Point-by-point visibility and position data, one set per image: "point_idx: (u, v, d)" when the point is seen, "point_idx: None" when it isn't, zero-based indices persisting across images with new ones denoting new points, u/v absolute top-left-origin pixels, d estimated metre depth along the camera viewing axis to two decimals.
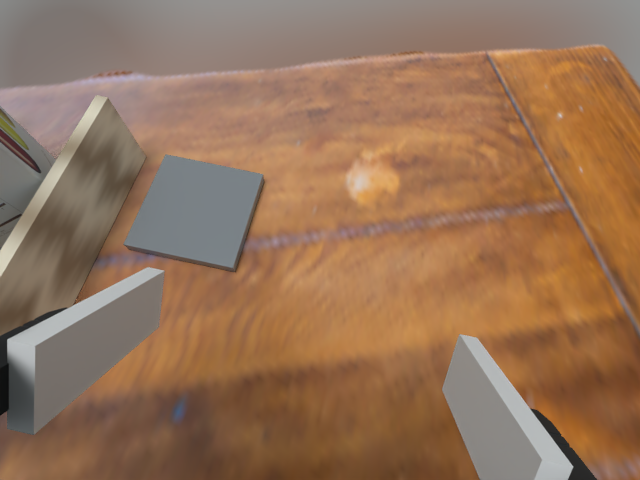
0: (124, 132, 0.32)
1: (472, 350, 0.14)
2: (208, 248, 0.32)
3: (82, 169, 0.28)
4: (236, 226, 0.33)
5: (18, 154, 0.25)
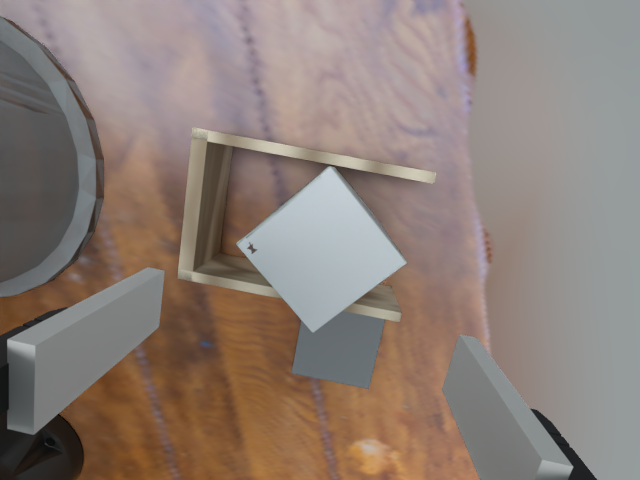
0: None
1: (472, 350, 0.14)
2: (304, 356, 0.45)
3: None
4: (322, 373, 0.45)
5: None
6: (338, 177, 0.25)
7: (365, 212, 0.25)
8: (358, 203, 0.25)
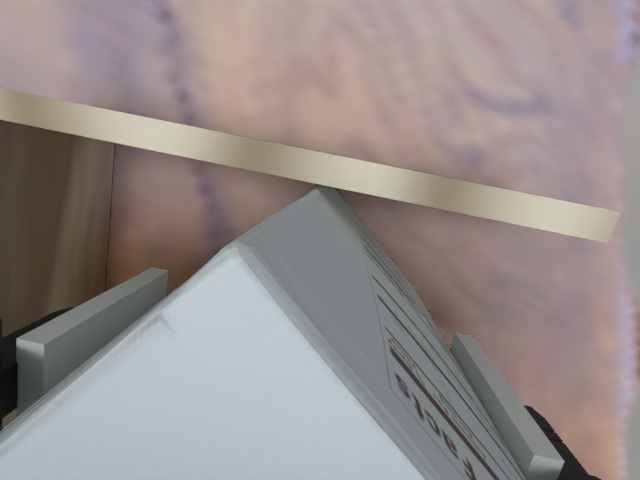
0: None
1: (467, 348, 0.14)
2: None
3: None
4: None
5: None
6: (300, 331, 0.03)
7: None
8: None
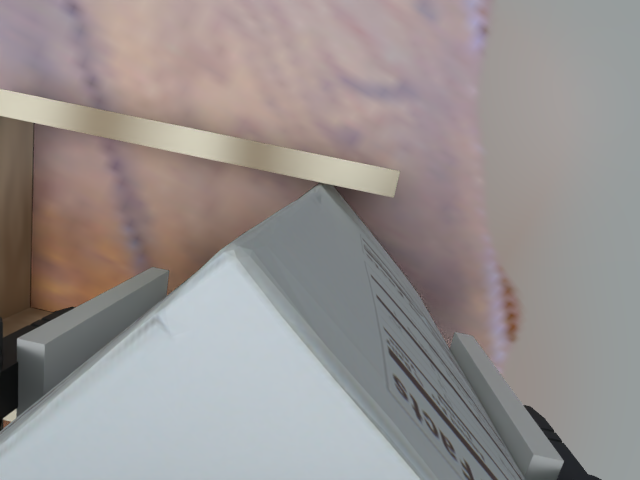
0: None
1: (467, 348, 0.14)
2: None
3: None
4: None
5: None
6: (297, 333, 0.03)
7: None
8: None
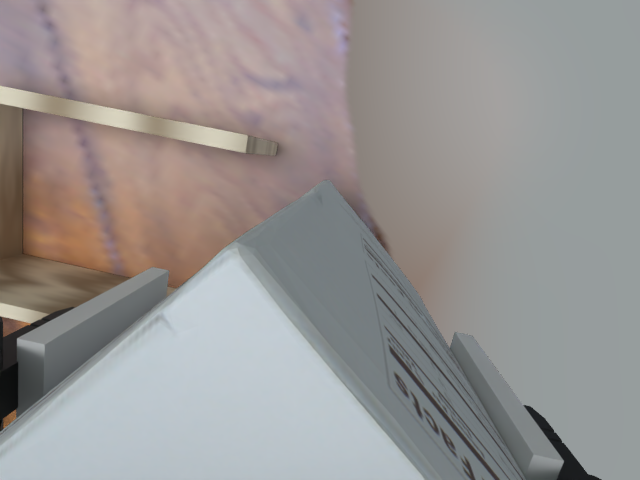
0: None
1: (467, 348, 0.14)
2: None
3: None
4: None
5: None
6: (299, 330, 0.03)
7: None
8: None
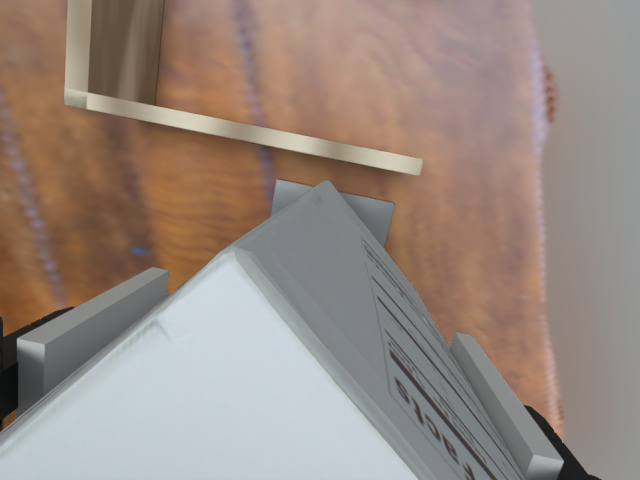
0: (401, 172, 0.25)
1: (467, 348, 0.14)
2: None
3: (322, 156, 0.24)
4: None
5: None
6: (298, 336, 0.03)
7: None
8: None
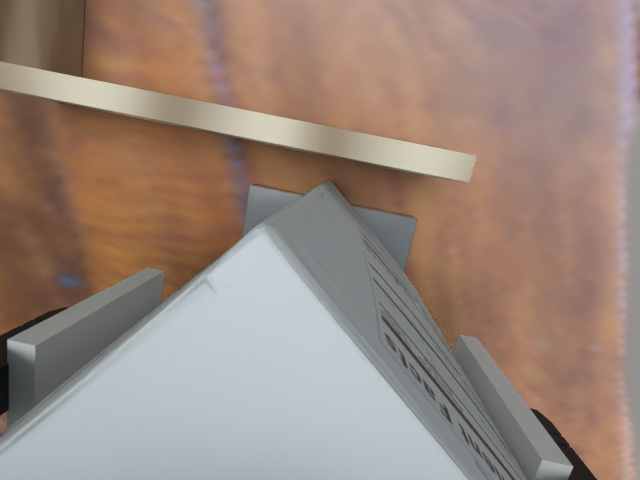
0: (431, 176, 0.17)
1: (472, 350, 0.14)
2: None
3: (311, 151, 0.15)
4: None
5: None
6: (311, 290, 0.04)
7: (455, 471, 0.05)
8: (420, 427, 0.05)
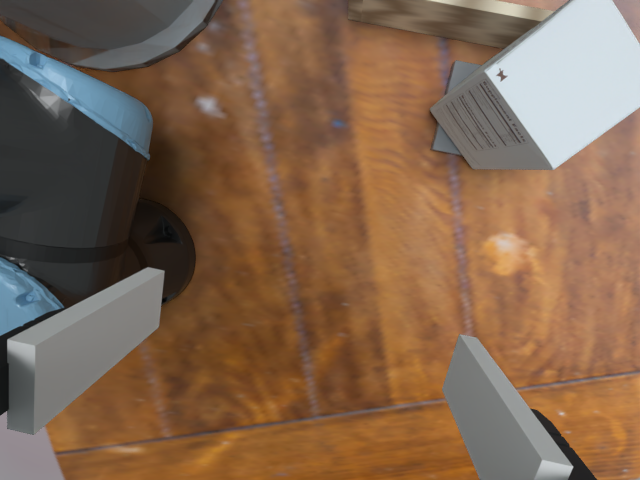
0: None
1: (472, 350, 0.14)
2: None
3: (517, 24, 0.34)
4: None
5: None
6: None
7: (630, 31, 0.24)
8: (624, 20, 0.24)
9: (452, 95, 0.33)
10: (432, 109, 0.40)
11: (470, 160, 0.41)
